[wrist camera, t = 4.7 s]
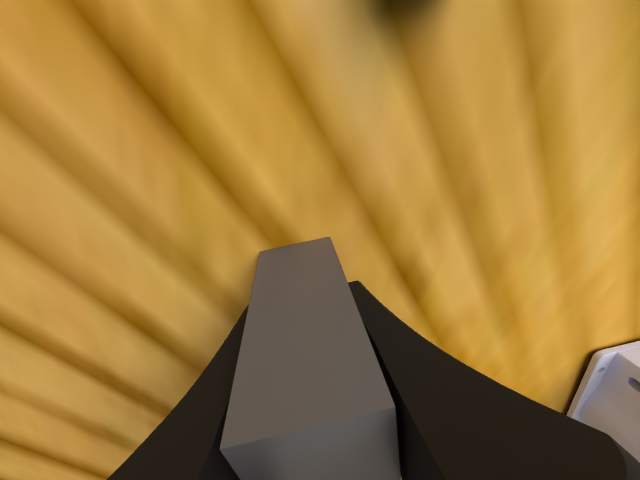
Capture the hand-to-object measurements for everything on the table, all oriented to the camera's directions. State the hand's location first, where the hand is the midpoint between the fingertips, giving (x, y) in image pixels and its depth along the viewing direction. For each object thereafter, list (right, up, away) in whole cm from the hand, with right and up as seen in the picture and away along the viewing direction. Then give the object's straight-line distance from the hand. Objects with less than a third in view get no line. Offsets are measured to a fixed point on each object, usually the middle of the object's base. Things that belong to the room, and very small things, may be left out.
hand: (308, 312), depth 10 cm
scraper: (+1, -7, +5) cm, 9 cm away
